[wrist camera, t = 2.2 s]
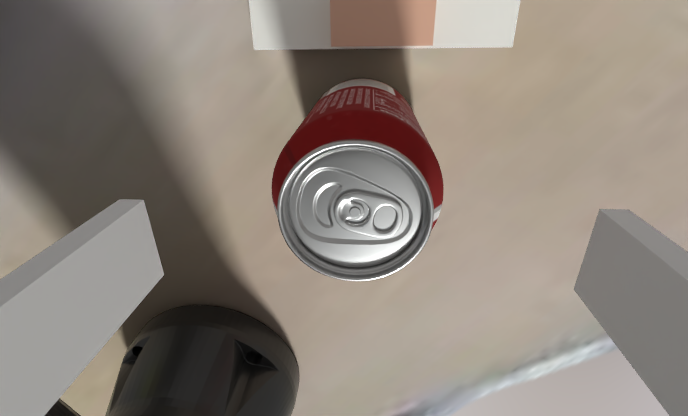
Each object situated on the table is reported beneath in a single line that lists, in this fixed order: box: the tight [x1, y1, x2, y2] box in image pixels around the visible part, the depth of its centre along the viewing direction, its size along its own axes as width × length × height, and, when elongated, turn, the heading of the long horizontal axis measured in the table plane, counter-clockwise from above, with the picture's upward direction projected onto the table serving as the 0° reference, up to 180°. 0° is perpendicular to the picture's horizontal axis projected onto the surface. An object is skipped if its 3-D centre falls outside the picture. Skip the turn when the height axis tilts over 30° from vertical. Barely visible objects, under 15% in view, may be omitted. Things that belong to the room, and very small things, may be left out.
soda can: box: [272, 78, 443, 281], centre depth 18 cm, size 7×7×12 cm
